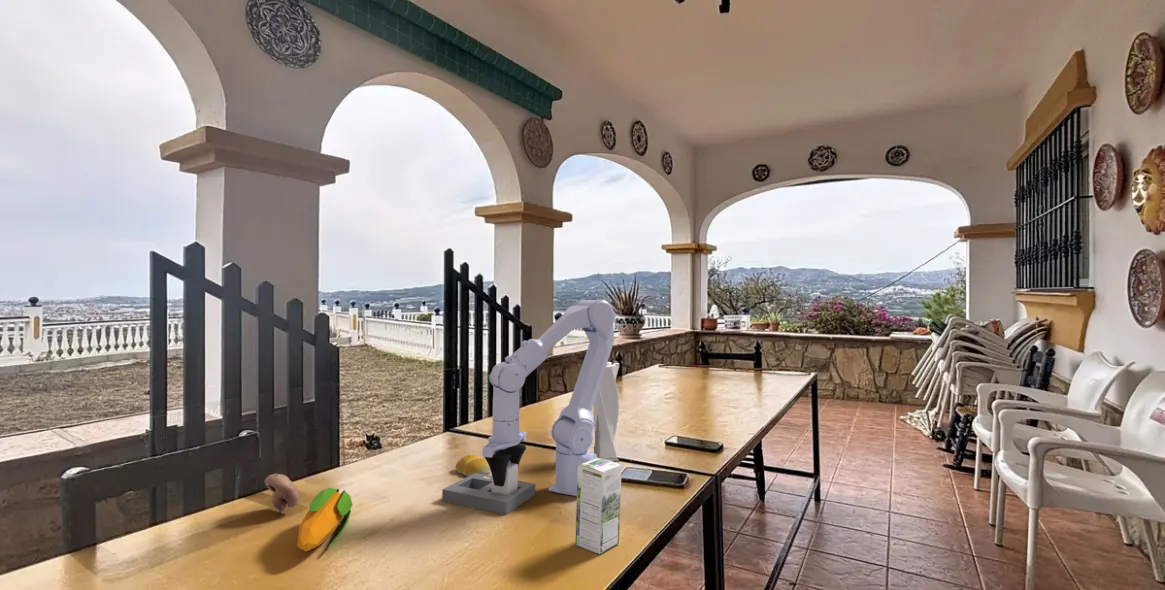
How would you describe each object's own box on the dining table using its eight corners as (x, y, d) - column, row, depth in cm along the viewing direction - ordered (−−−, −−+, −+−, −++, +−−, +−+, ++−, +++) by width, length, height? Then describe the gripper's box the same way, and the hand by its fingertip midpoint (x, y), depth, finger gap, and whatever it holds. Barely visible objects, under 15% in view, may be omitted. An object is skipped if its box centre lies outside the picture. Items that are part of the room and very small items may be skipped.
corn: (356, 476, 104) (330, 517, 84) (358, 514, 104) (332, 564, 84) (316, 481, 102) (280, 524, 83) (318, 520, 102) (282, 572, 83)
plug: (517, 496, 114) (518, 460, 114) (507, 502, 110) (508, 465, 110) (501, 493, 115) (502, 457, 116) (491, 499, 112) (492, 463, 112)
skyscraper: (585, 454, 148) (587, 355, 148) (612, 452, 151) (613, 355, 151) (594, 463, 140) (596, 358, 140) (623, 461, 143) (624, 358, 143)
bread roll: (473, 480, 126) (474, 463, 126) (450, 472, 131) (450, 456, 131) (499, 472, 132) (499, 456, 132) (476, 464, 138) (476, 449, 138)
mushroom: (264, 508, 106) (265, 469, 106) (298, 503, 109) (299, 465, 109) (262, 522, 100) (263, 480, 100) (298, 517, 103) (299, 476, 103)
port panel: (535, 494, 117) (535, 483, 117) (506, 514, 106) (506, 501, 106) (475, 483, 123) (475, 472, 123) (442, 501, 112) (442, 488, 112)
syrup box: (594, 534, 97) (596, 456, 98) (620, 544, 94) (622, 463, 94) (574, 545, 93) (576, 463, 93) (601, 556, 89) (602, 470, 89)
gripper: (507, 410, 121) (506, 469, 121) (470, 423, 108) (469, 489, 108) (534, 413, 118) (533, 474, 118) (499, 427, 105) (498, 495, 105)
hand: (504, 482), depth 113 cm, fingers closed on plug, 4 cm apart
